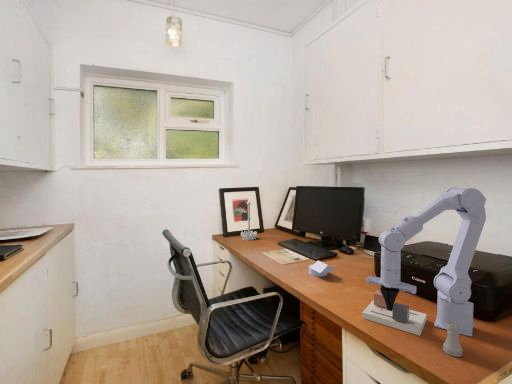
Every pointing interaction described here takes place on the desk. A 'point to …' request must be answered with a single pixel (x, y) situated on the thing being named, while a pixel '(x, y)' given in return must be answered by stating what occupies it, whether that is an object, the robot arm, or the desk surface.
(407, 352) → the desk surface
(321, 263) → the wedge on round base
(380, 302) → the brick fader
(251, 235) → the flag stand
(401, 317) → the charcoal fader
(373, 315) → the fader console
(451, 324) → the rook chess piece
